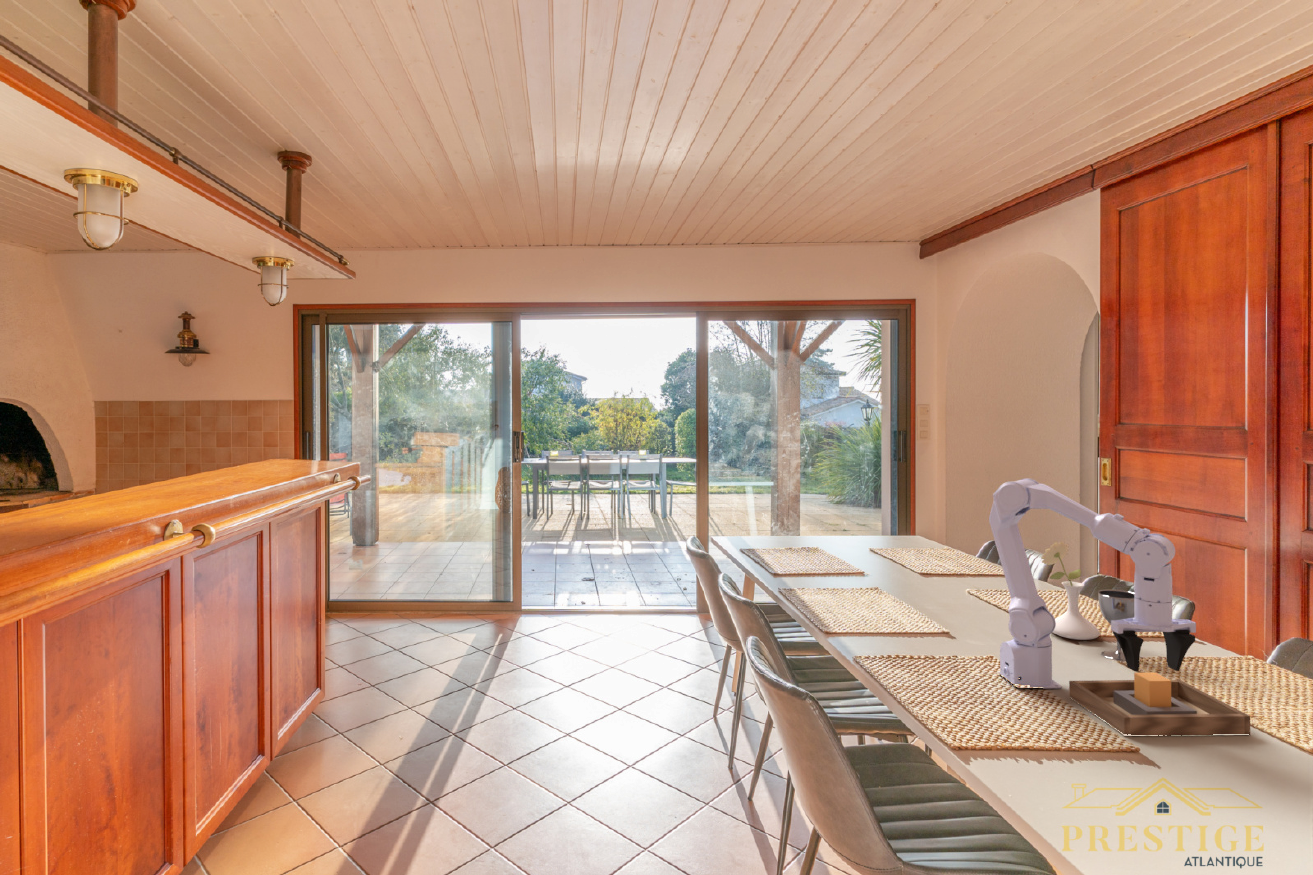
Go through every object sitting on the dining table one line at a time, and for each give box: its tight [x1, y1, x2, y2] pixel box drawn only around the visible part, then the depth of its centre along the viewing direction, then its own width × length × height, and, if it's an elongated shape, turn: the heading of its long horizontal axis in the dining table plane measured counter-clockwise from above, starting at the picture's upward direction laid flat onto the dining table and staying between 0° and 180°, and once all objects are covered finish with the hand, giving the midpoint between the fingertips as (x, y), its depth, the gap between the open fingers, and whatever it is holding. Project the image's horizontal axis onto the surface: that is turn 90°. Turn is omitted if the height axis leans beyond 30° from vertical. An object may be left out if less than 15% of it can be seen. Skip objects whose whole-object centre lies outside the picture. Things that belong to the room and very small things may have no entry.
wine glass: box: [1097, 588, 1134, 662], centre depth 151 cm, size 8×8×15 cm
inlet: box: [1113, 690, 1197, 715], centre depth 121 cm, size 9×9×2 cm
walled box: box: [1068, 679, 1251, 737], centre depth 121 cm, size 22×16×4 cm
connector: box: [1133, 672, 1171, 707], centre depth 122 cm, size 4×4×7 cm
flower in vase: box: [1040, 541, 1101, 641], centre depth 165 cm, size 13×11×25 cm
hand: (1153, 669), depth 121 cm, fingers open, 7 cm apart
